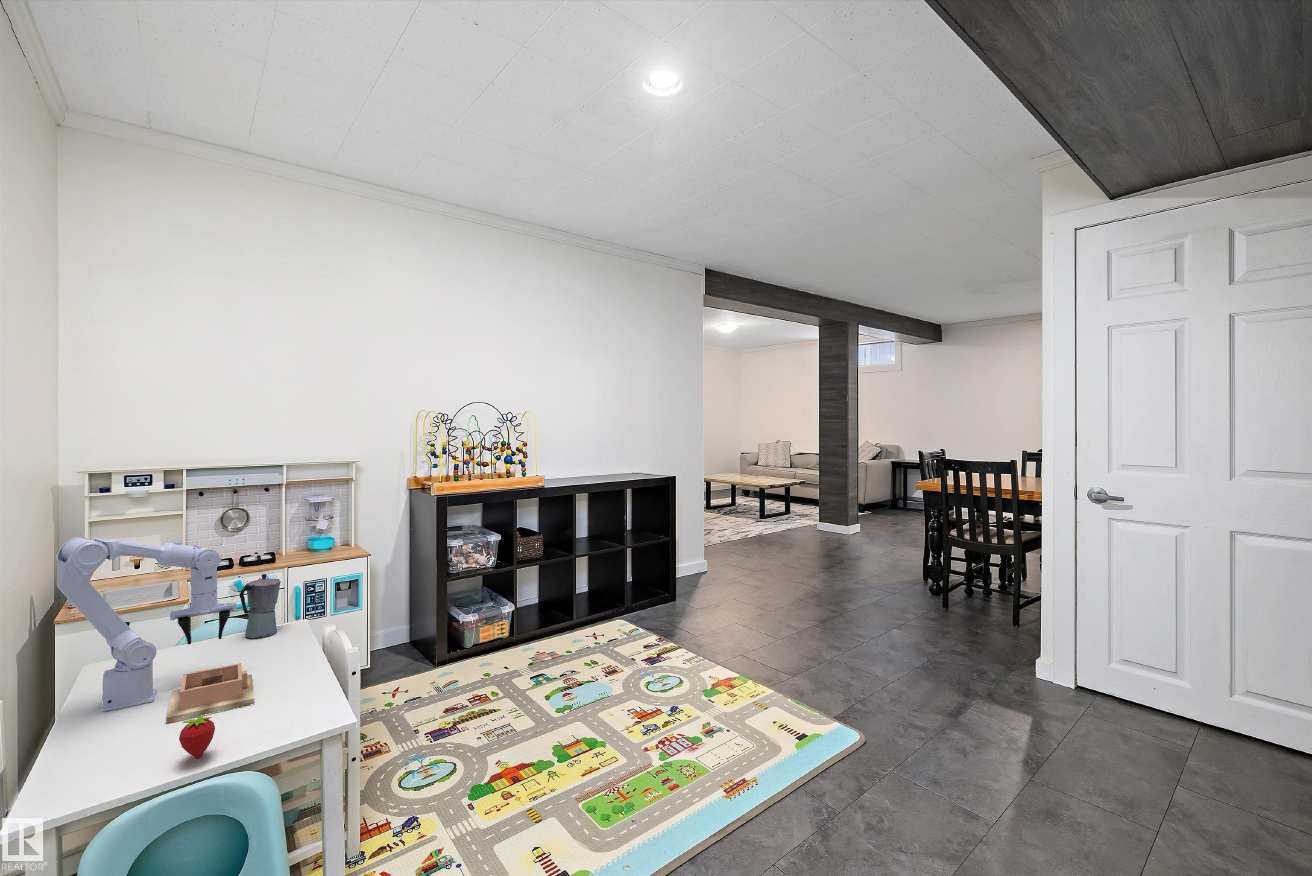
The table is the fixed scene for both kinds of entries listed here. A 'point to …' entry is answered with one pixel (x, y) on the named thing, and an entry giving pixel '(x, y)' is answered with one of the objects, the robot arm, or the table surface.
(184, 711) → the light wood rectangular frame
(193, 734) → the strawberry
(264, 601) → the moka pot
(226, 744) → the table surface
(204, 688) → the shallow wooden crate
